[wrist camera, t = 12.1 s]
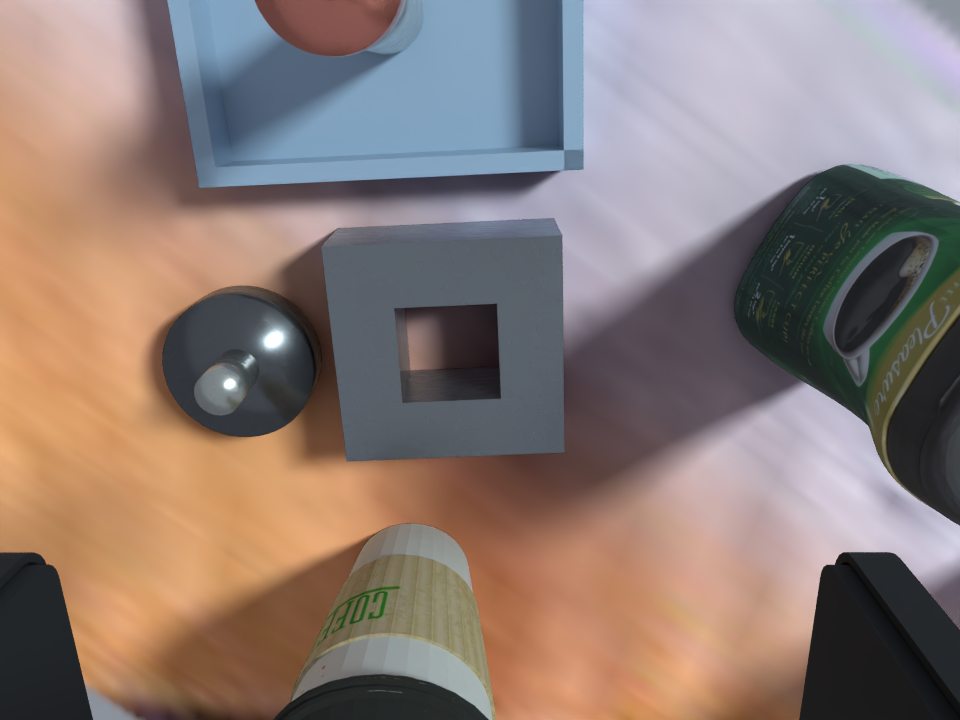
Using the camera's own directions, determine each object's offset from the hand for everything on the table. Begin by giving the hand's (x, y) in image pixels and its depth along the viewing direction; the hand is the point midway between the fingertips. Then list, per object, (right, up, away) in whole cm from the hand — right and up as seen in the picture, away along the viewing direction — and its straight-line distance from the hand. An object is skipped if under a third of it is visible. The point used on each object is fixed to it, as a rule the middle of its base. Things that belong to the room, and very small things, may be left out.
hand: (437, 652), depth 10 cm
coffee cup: (-3, -8, +33) cm, 34 cm away
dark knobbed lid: (-11, +4, +29) cm, 31 cm away
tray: (-3, +18, +23) cm, 30 cm away
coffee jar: (+17, +8, +27) cm, 33 cm away
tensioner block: (-1, +5, +28) cm, 29 cm away
